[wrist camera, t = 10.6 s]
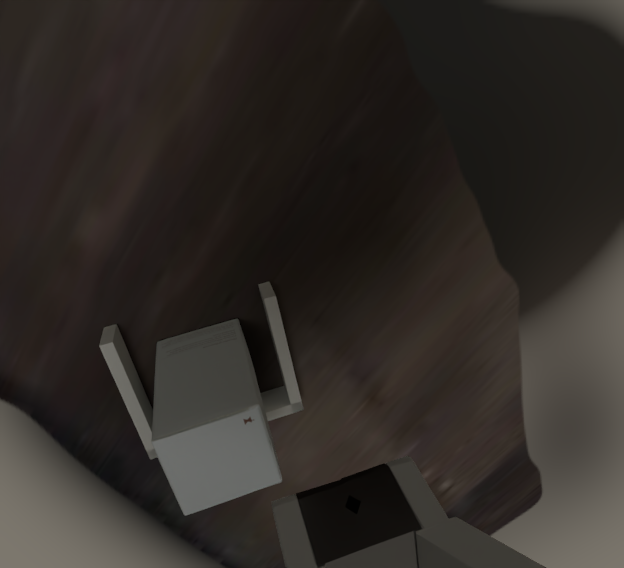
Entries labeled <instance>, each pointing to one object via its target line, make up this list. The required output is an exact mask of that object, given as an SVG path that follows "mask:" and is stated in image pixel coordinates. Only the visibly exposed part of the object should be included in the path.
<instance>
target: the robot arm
mask: <svg viewBox="0 0 624 568" xmlns="http://www.w3.org/2000/svg"><path fill="white" fill-rule="evenodd" d="M296 496H297V497H296ZM272 510H273V514H274V518H275V523H276V527H277V531H278V536H279V540H280V544H281V549H282V553H283V557H284V562H285V566H286V568H546V567H544V566H542V565H540V564H539V563H537V562H535V561H533V560H531V559H530V558H528V557H526V556H524V555H523V554H521V553H519V552H517V551H515V550H514V549H512V548H510V547H508V546H507V545H505V544H503V543H501V542H499V541H498V540H496V539H494V538H492V537H490V536H489V535H487V534H485V533H483V532H482V531H480V530H478V529H476V528H474V527H473V526H471V525H469V524H467V523H466V522H464V521H462V520H460V519H458V518H457V517H454V518H451V519H448V517H447V515H446V514H445V512H444V510H443V509H442V507H441V506H440V504H439V502H438V501H437V499H436V497H435V496H434V494H433V493H432V491H431V489H430V488H429V486H428V484H427V483H426V481H425V479H424V478H423V476H422V475H421V473H420V471H419V470H418V468H417V466H416V465H415V463H414V462H413V460H412V459H411V458H410V457H409V456H406V457H403V458H400V459H397V460H394V461H391V462H388V463H386V464H381V465H378V466H375V467H372V468H370V469H367V470H364V471H361V472H358V473H356V474H353V475H350V476H347V477H344V478H342V479H341V480H338V481H335V482H332V483H329V484H325V485H322V486H319V487H316V488H312V489H309V490H306V491H303V492H300V493H296V495H295V494H294V495H291V496H288V497H285V498H281V499H278V500H275V501H272Z"/></svg>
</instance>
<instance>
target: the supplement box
mask: <svg viewBox="0 0 624 568" xmlns="http://www.w3.org/2000/svg"><path fill="white" fill-rule="evenodd" d="M151 443H152V445H153V448H154V450H155V452H156V455H157V457H158V459H159V461H160V464H161V466H162V468H163V470H164V472H165V475H166V477H167V479H168V481H169V483H170V486H171V488H172V490H173V492H174V494H175V497H176V499H177V501H178V503H179V505H180V507H181V509H182V511H183V514H184V515H185V516H186V515H189V514H192V513H195V512H198V511H201V510H203V509H206V508H209V507H212V506H215V505H217V504H220V503H223V502H226V501H229V500H232V499H234V498H237V497H240V496H243V495H245V494H248V493H251V492H254V491H256V490H260V489H263V488H266V487H269V486H272V485H274V484H278V483H281V482H282V476H281V471H280V467H279V463H278V459H277V455H276V451H275V447H274V443H273V439H272V435H271V432H270V428H269V424H268V420H267V416H266V413H265V409H264V405H263V401H262V397H261V394H260V390H259V386H258V383H257V379H256V375H255V371H254V367H253V363H252V360H251V356H250V353H249V350H248V347H247V344H246V341H245V338H244V335H243V332H242V329H241V326H240V323H239V319H233V320H230V321H226V322H222V323H219V324H216V325H212V326H208V327H205V328H202V329H198V330H195V331H191V332H188V333H184V334H181V335H178V336H174V337H170V338H167V339H164V340H161V341H159V342H157V347H156V366H155V385H154V406H153V424H152V440H151Z"/></svg>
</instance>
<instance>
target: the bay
mask: <svg viewBox="0 0 624 568" xmlns="http://www.w3.org/2000/svg"><path fill="white" fill-rule="evenodd" d="M258 286H259V290H260V294H261V298H262V302H263V306H264V310H265V314H266V317H267V321H268V325H269V329H270V333H271V337H272V341H273V344H274V348H275V352H276V356H277V360H278V364H279V368H280V371H281V375H282V379H283V383H284V386H281V387H278V388H275V389H272V390H268V391H265V392H262V393H260V394H261V397H262V401H263V405H264V409H265V413H266V416H267V420H268V421H270V420H273V419H276V418H280V417H283V416H286V415H289V414H292V413H295V412H298V411H301V410H303V405H302V401H301V397H300V393H299V389H298V385H297V381H296V377H295V373H294V368H293V364H292V360H291V356H290V352H289V348H288V344H287V340H286V336H285V332H284V327H283V323H282V319H281V315H280V311H279V307H278V303H277V299H276V295H275V293H274V291H273V289H272V286H271V284H270V282H265V283H262V284H258ZM99 347H100V349H101V351H102V353H103V355H104V358H105V360H106V362H107V364H108V367H109V369H110V371H111V373H112V375H113V378H114V380H115V382H116V384H117V387H118V389H119V391H120V393H121V395H122V398H123V400H124V402H125V404H126V407H127V409H128V411H129V413H130V415H131V418H132V420H133V422H134V424H135V427H136V429H137V431H138V433H139V435H140V438H141V440H142V442H143V444H144V447H145V449H146V451H147V453H148V455H149V458H150V459H154V458H157V455H156V452H155V450H154V448H153V445H152V443H151V440H152V424H153V409H152V407H151V405H150V402H149V400H148V398H147V395H146V393H145V390H144V388H143V386H142V383H141V381H140V379H139V376H138V374H137V371H136V369H135V367H134V364H133V362H132V360H131V357H130V355H129V352H128V350H127V348H126V345H125V343H124V341H123V338H122V336H121V333H120V331H119V329H118V326H117V324H115V325H111V326H108V327H104V330H103V334H102V337H101V341H100V345H99Z"/></svg>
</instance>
